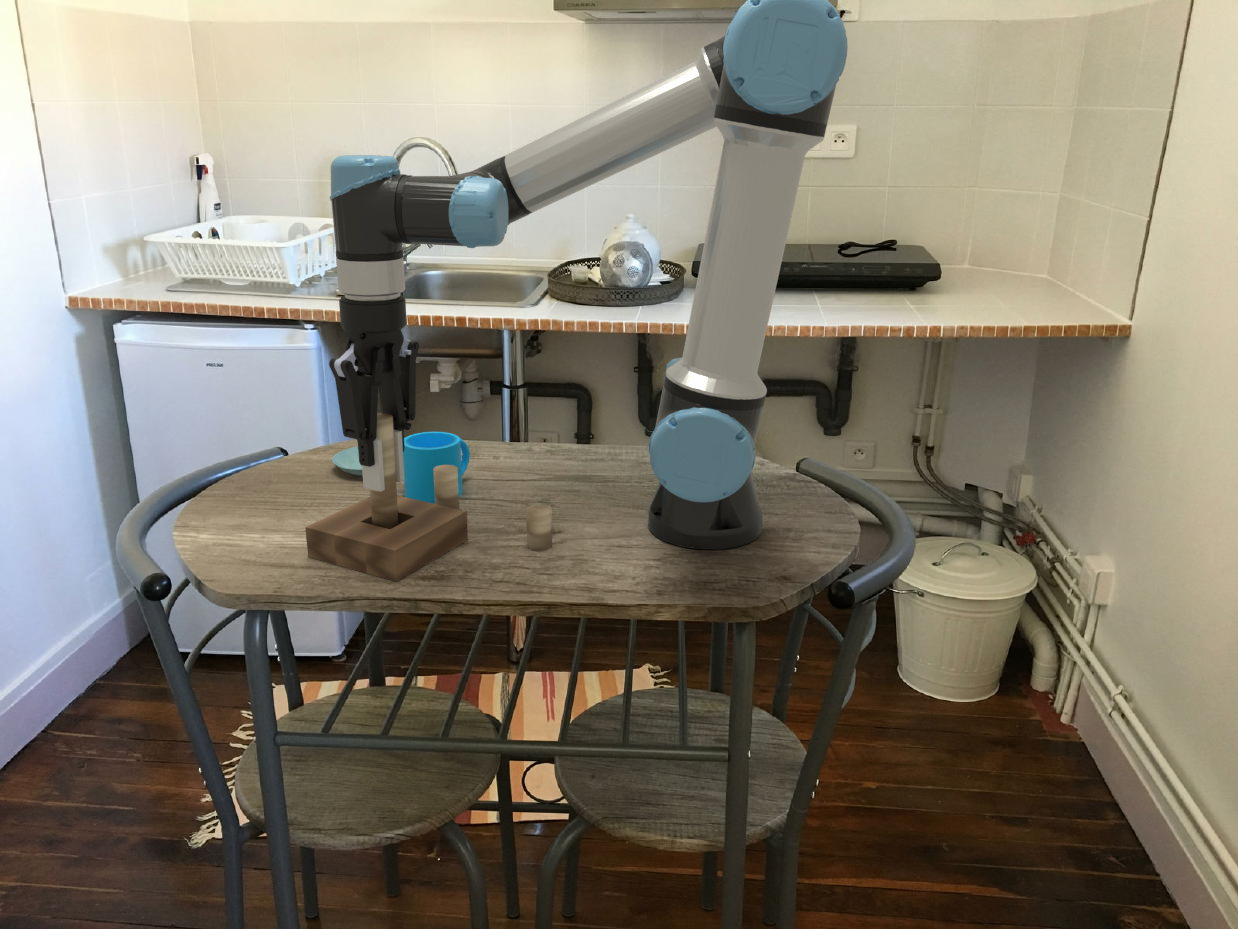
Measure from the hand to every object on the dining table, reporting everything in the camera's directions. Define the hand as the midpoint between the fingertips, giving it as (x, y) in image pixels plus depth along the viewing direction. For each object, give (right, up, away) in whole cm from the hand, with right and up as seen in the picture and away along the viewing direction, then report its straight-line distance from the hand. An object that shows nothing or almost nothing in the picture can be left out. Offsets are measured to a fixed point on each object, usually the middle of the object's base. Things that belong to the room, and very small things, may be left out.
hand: (384, 483), depth 125 cm
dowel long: (0, -5, +2) cm, 5 cm away
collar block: (0, -8, +3) cm, 9 cm away
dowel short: (+19, -8, +4) cm, 21 cm away
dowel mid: (+6, -5, +13) cm, 15 cm away
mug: (+3, -2, +23) cm, 23 cm away
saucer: (-9, +1, +31) cm, 32 cm away
